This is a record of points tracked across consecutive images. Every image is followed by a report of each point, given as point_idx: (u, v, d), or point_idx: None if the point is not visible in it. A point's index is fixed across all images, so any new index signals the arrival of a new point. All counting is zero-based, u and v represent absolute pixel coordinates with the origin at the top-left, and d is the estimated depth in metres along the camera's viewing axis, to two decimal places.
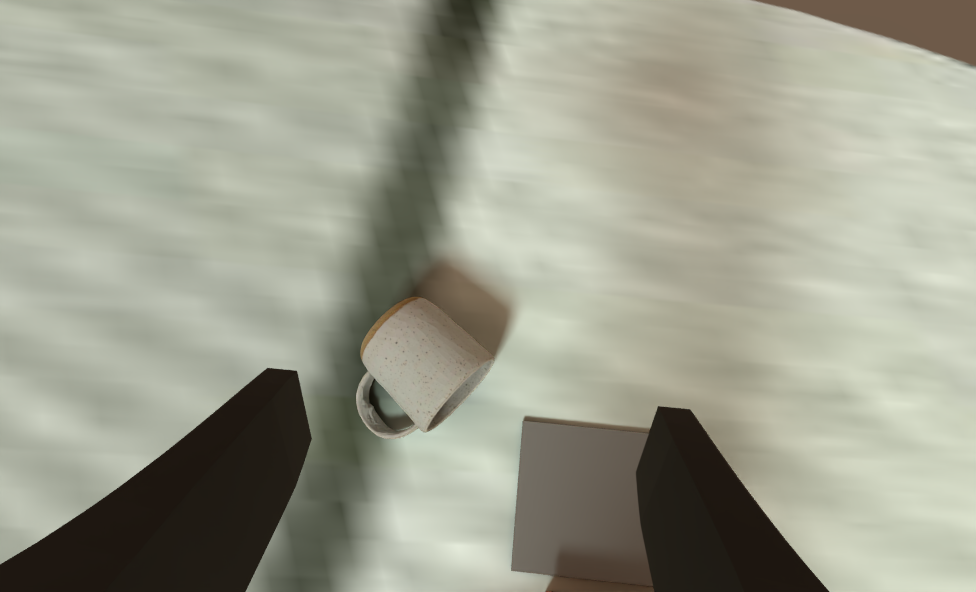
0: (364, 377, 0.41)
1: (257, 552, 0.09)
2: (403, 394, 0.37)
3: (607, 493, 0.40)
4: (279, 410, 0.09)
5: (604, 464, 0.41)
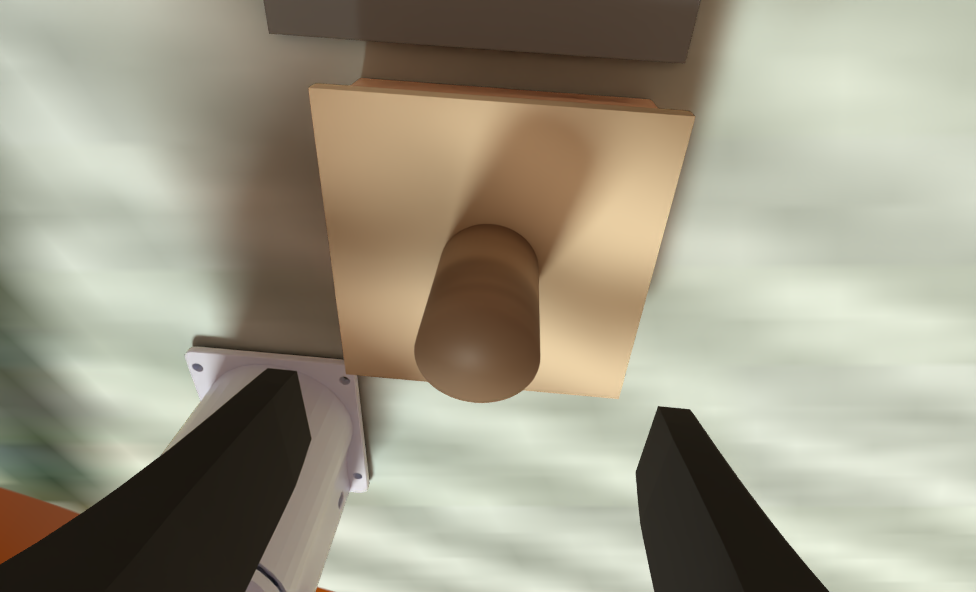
0: None
1: (257, 552, 0.09)
2: None
3: None
4: (279, 410, 0.09)
5: None
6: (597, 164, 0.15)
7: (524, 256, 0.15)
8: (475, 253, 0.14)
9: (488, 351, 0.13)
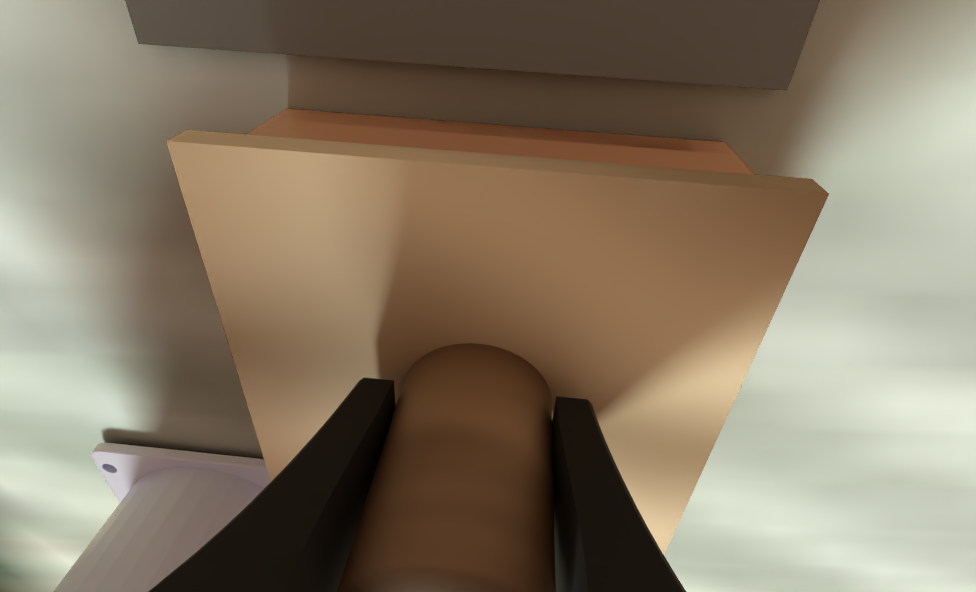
0: None
1: None
2: None
3: None
4: (382, 420, 0.09)
5: None
6: (651, 264, 0.09)
7: (529, 406, 0.09)
8: (448, 415, 0.09)
9: None
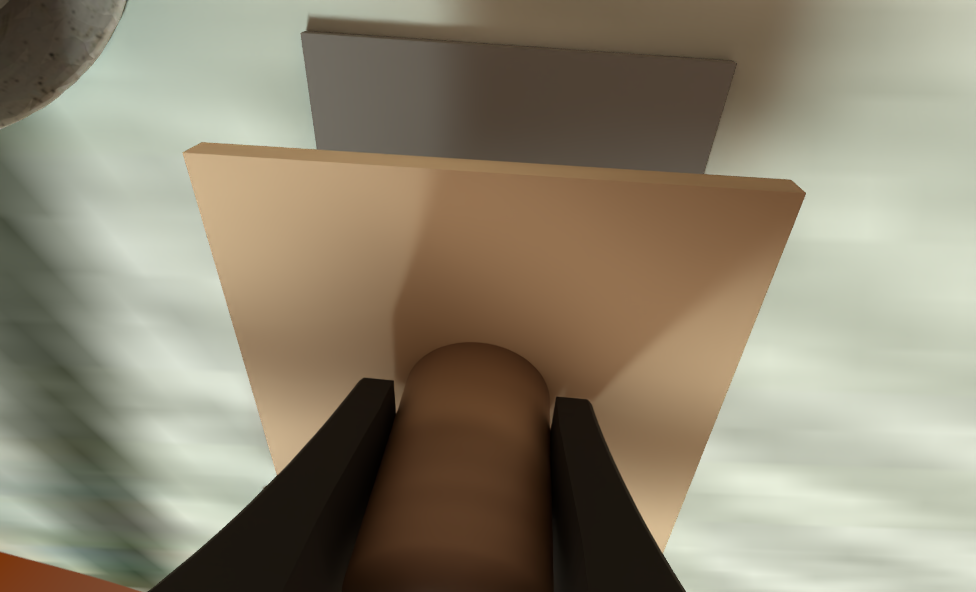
0: None
1: None
2: None
3: None
4: (383, 420, 0.09)
5: (511, 138, 0.17)
6: (641, 263, 0.09)
7: (527, 400, 0.10)
8: (449, 409, 0.09)
9: None
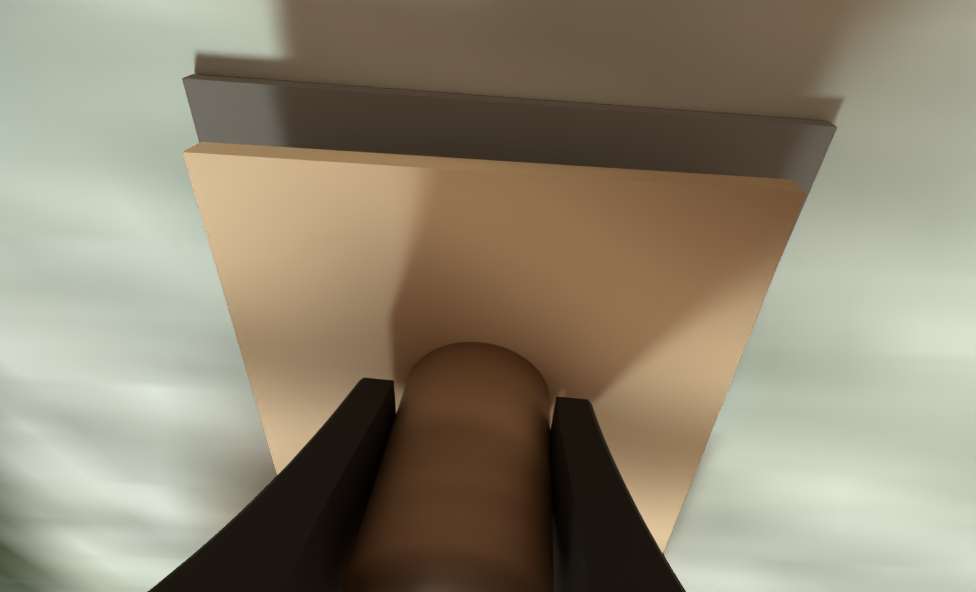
0: None
1: None
2: None
3: None
4: (382, 420, 0.09)
5: None
6: (641, 262, 0.09)
7: (527, 400, 0.10)
8: (450, 409, 0.09)
9: None
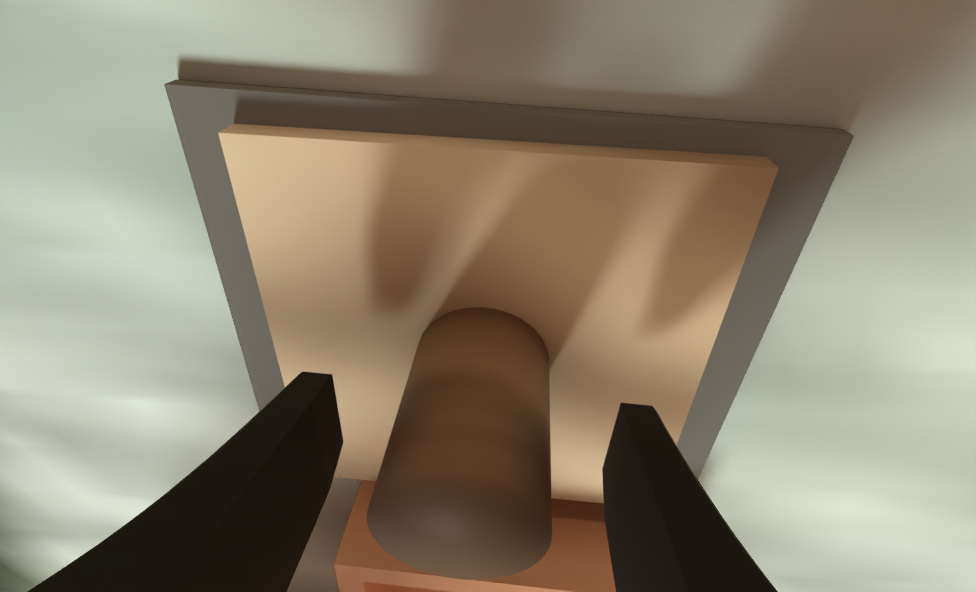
0: None
1: (295, 556, 0.09)
2: None
3: None
4: (317, 414, 0.09)
5: None
6: (631, 233, 0.10)
7: (529, 358, 0.11)
8: (459, 363, 0.10)
9: (475, 526, 0.09)
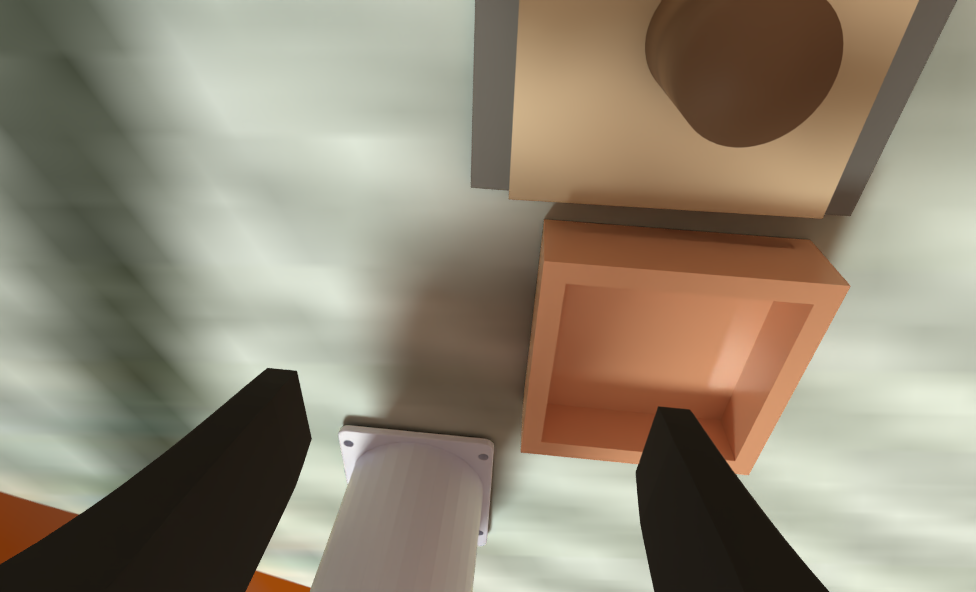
0: None
1: (257, 552, 0.09)
2: None
3: None
4: (279, 410, 0.09)
5: None
6: None
7: None
8: None
9: (775, 62, 0.11)
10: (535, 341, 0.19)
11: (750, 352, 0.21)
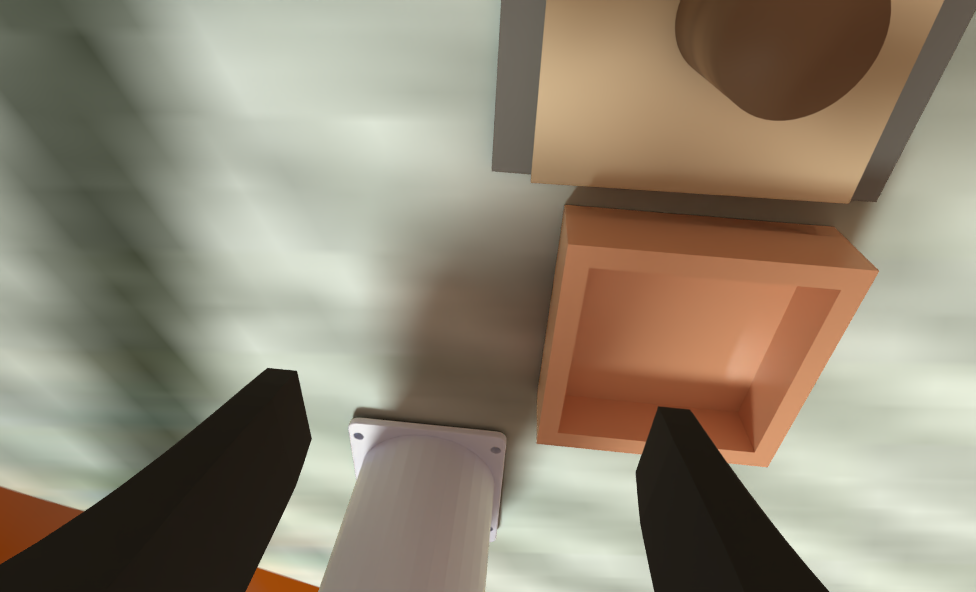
0: None
1: (257, 552, 0.09)
2: None
3: None
4: (279, 410, 0.09)
5: None
6: None
7: None
8: None
9: (820, 30, 0.10)
10: (556, 328, 0.18)
11: (770, 342, 0.20)
